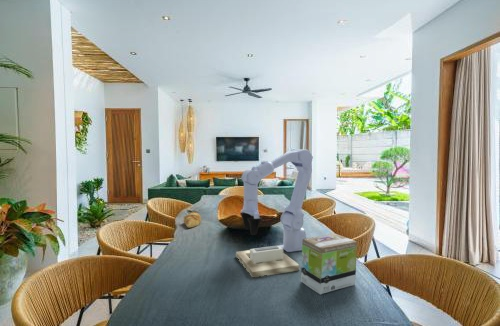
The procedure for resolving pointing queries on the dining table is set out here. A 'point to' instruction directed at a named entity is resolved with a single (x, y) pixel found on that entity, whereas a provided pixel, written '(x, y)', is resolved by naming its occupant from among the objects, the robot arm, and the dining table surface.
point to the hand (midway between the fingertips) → (250, 232)
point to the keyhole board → (267, 265)
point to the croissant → (192, 219)
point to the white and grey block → (266, 254)
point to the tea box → (328, 262)
